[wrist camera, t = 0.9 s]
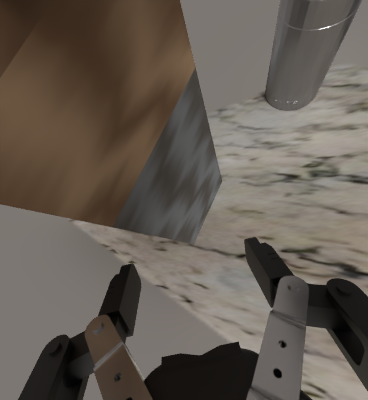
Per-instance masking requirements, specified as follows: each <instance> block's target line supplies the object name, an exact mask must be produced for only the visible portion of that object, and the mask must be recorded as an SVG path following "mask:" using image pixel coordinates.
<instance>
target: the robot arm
mask: <svg viewBox="0 0 368 400" xmlns="http://www.w3.org/2000/svg"><path fill="white" fill-rule="evenodd" d="M361 2H362V0H280V5H279V12H278V19H277V24H276V31H275V36H274V42H273V48H272V55H271V61H270V67H269V73H268V78H267V85H266V91H265V95H266V99H267V101H268V102H269V103H270V104H271V105H272V106H273V107H275V108H278V109H281V110H295V109H299V108H302V107H304V106H306V105H307V104H309V103H310V102H311V101H312V100H313V99H314V98H315V96H316V94H317V92H318V90H319V88H320V86H321V84H322V82H323V80H324V78H325V76H326V74H327V72H328V70H329V68H330V66H331V63H332V62H333V59H334V57H335V55H336V53H337V51H338V49H339V47H340V45H341V43H342V41H343V39H344V36H345V35H346V33H347V31H348V29H349V27H350V25H351V23H352V21H353V19H354V16H355V14H356V12H357V10H358V8H359V6H360V4H361ZM244 243H245V252H246V259H247V262H248V265H249V267H250V269H251V271H252V272H253V274H254V276H255V278H256V280H257V282H258V284H259V286H260V288H261V290H262V292H263V294H264V295H265V297H266V299H267V301H268V303H269V305H270V307H271V308H272V307H273V310H272V311H270V314H269V317H268V321H267V325H266V329H265V333H264V337H263V341H262V345H261V349H260V353H259V354H257V353H256V352H253V351H251V350H247V349H242V348H240V345H239V342H235V343H230V344H225V345H220V346H218V347H216V348H214V349H212V350H210V351H209V352H207V353H205V354H203V355H190V354H175V355H170V356H166V357H162V364H161V365H160V366H159V367H157V368H156V369H155V370H154V371H152V372H151V373H150V374H149V375H148V377H147V378H146V379H144V377H143V376H142V374H141V372H140V370H139V368H138V367H137V365H136V363H135V361H134V359H133V357H132V355H131V354H130V352H129V350H128V348H127V346H126V345H125V341H126V337H129V336H133V331H134V326H135V320H136V314H137V309H138V303H139V297H140V291H141V280H140V277H139V275H138V273H137V270H136V268H135V266H134V264H128V265H123V266H122V267H121V270H120V273H119V274H117V275H115V276H114V278H113V279H112V280H111V282H110V285H109V287H108V290H107V293H106V296H105V298H104V301H103V304H102V306H101V309H100V312H99V315H98V317H96V318H94V319H93V320H92V321H91V322H90V323H89V325H88V326H87V328H86V330H85V331H84V332H82V333H80V334H78V335H76V336H74V337H73V338H71V339H70V338H69V337H68V336H67V335H60V336H57V337H56V338H54V339H53V340H51V342H49V343H48V344H47V345H46V347H45V348H44V350H43V351H42V353H41V355H40V357H39V359H38V361H37V363H36V365H35V367H34V369H33V371H32V373H31V375H30V377H29V379H28V381H27V383H26V385H25V387H24V389H23V391H22V393H21V395H20V397H19V399H18V400H83V397H84V393H85V389H86V386H87V382H88V378H89V375H90V374H92V373H95V376H96V379H97V382H98V385H99V388H100V391H101V394H102V397H103V400H312V399H311V398H310V397H309V396H308V395H306V394H305V393H304V392H303V391H302V390H301V379H302V367H303V355H304V344H305V333H306V326H312V327H319V328H326V329H327V331H328V332H329V334H330V335H331V337H332V338H333V340H334V341H335V343H336V344H337V346H338V347H339V349H340V350H341V352H342V353H343V355H344V356H345V358H346V359H347V361H348V362H349V364H350V365H351V367H352V368H353V370H354V371H355V373H356V374H357V376H358V377H359V379H360V380H361V382H362V383H363V385H364V386H365V388H366V389H367V391H368V296H367V295H366V294H365V293H364V292H363V291H362V290H361V289H360V288H359V287H357V286H356V285H355V284H353V283H352V282H350V281H347V280H344V279H339V278H334V279H331V280H329V281H328V282H327V284H326V285H315V284H308V283H306V282H305V281H304V280H302V279H301V278H299V277H296V276H294V275H293V273H292V272H291V271H290V269H289V268H288V267H287V266H286V264H285V263H284V262H283V260H282V259H281V258H280V257H279V255H278V254H277V253H276V251H275V250H274V249H273V248H272V246H270V245H268V244H267V243H261V244H260V242H259V241H258V240H257V238H256V237H253V238H248V239H245V240H244Z"/></svg>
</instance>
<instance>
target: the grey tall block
mask: <svg viewBox="0 0 368 400" xmlns="http://www.w3.org/2000/svg"><path fill="white" fill-rule="evenodd" d="M221 182H222V179H221V175H220V170H219V166H218V162H217V157H216V153H215V149H214V145H213V140H212V136H211V132H210V127H209V123H208V119H207V115H206V110H205V106H204V102H203V98H202V94H201V89H200V85H199V81H198V76H197V72H196V68H195V63H194V59H193V55H192V51H191V46H190V42H189V38H188V33H187V29H186V25H185V21H184V16H183V12H182V8H181V4H180V0H0V204H2V205H7V206H12V207H16V208H21V209H26V210H31V211H36V212H42V213H46V214H51V215H56V216H61V217H65V218H70V219H75V220H80V221H85V222H90V223H95V224H99V225H104V226H109V227H114V228H119V229H124V230H129V231H134V232H138V233H143V234H148V235H153V236H158V237H163V238H168V239H173V240H178V241H182V242H187V243H192V244H194V242H195V240H196V238H197V235H198V233H199V231H200V229H201V226H202V224H203V222H204V220H205V218H206V215H207V213H208V211H209V209H210V207H211V204H212V202H213V200H214V198H215V196H216V193H217V191H218V189H219V187H220V185H221Z"/></svg>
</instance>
